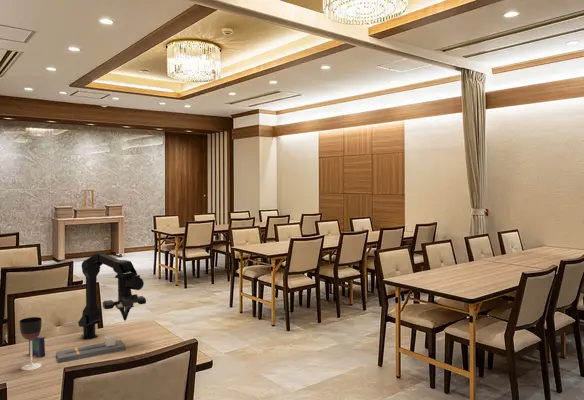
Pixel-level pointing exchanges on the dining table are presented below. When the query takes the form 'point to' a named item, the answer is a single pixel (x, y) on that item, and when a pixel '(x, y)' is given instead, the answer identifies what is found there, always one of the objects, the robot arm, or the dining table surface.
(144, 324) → the dining table surface
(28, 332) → the wineglass
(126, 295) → the robot arm
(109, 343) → the fader tab
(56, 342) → the dining table surface
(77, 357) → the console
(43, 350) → the flask
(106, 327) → the dining table surface
